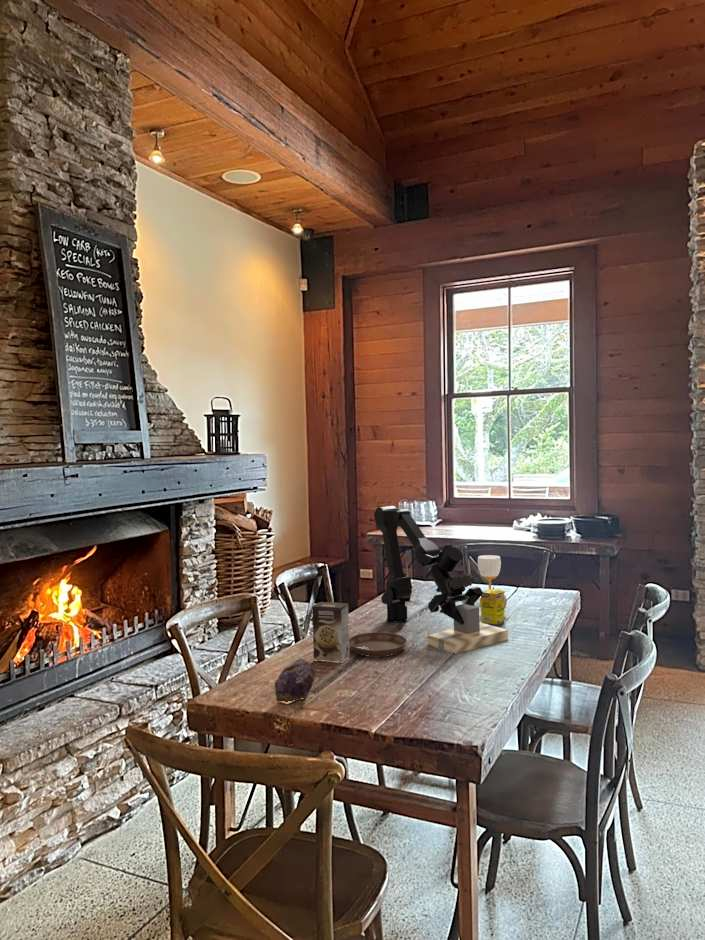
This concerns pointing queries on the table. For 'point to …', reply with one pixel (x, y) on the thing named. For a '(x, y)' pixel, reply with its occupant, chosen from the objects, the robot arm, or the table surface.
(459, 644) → the birch board
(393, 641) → the plant saucer
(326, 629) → the cookie box
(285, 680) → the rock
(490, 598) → the supplement box
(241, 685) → the table surface
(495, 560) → the cup
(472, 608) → the block
